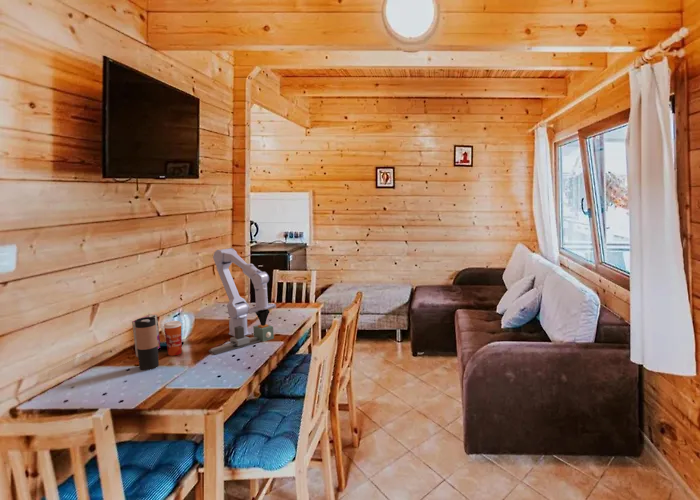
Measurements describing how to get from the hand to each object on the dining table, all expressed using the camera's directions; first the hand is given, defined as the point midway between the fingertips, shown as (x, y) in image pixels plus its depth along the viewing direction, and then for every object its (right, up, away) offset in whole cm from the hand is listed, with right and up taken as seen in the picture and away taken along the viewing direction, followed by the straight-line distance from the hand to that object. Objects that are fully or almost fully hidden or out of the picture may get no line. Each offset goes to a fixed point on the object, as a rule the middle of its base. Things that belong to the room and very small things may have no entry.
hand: (263, 325), depth 209 cm
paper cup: (-36, -10, -16) cm, 41 cm away
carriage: (-9, -7, -8) cm, 14 cm away
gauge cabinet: (0, -7, +1) cm, 7 cm away
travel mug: (-40, -12, -32) cm, 53 cm away
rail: (-11, -8, -10) cm, 17 cm away
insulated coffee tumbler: (-49, -10, -15) cm, 52 cm away
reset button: (0, -3, 0) cm, 3 cm away
